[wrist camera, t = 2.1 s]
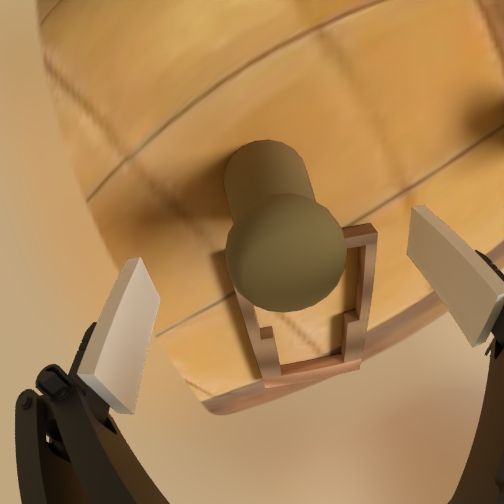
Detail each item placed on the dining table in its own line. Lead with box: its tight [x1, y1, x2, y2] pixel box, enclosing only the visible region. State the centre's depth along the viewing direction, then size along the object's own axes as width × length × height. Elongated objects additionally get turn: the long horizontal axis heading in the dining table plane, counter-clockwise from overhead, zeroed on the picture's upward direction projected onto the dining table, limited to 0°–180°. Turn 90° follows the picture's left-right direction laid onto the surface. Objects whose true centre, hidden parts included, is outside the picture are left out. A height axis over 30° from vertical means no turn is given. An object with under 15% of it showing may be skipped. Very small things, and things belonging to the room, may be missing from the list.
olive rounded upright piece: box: [223, 140, 347, 312], centre depth 15 cm, size 6×6×11 cm
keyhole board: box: [234, 223, 378, 388], centre depth 27 cm, size 20×12×2 cm, turn 11°
